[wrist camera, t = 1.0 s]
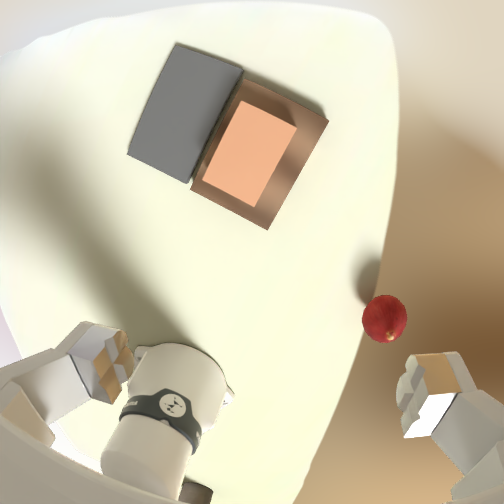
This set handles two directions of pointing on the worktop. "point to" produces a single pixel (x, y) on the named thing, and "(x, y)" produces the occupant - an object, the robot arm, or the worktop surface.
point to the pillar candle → (195, 494)
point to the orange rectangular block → (249, 153)
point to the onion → (384, 318)
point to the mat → (183, 112)
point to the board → (289, 164)
